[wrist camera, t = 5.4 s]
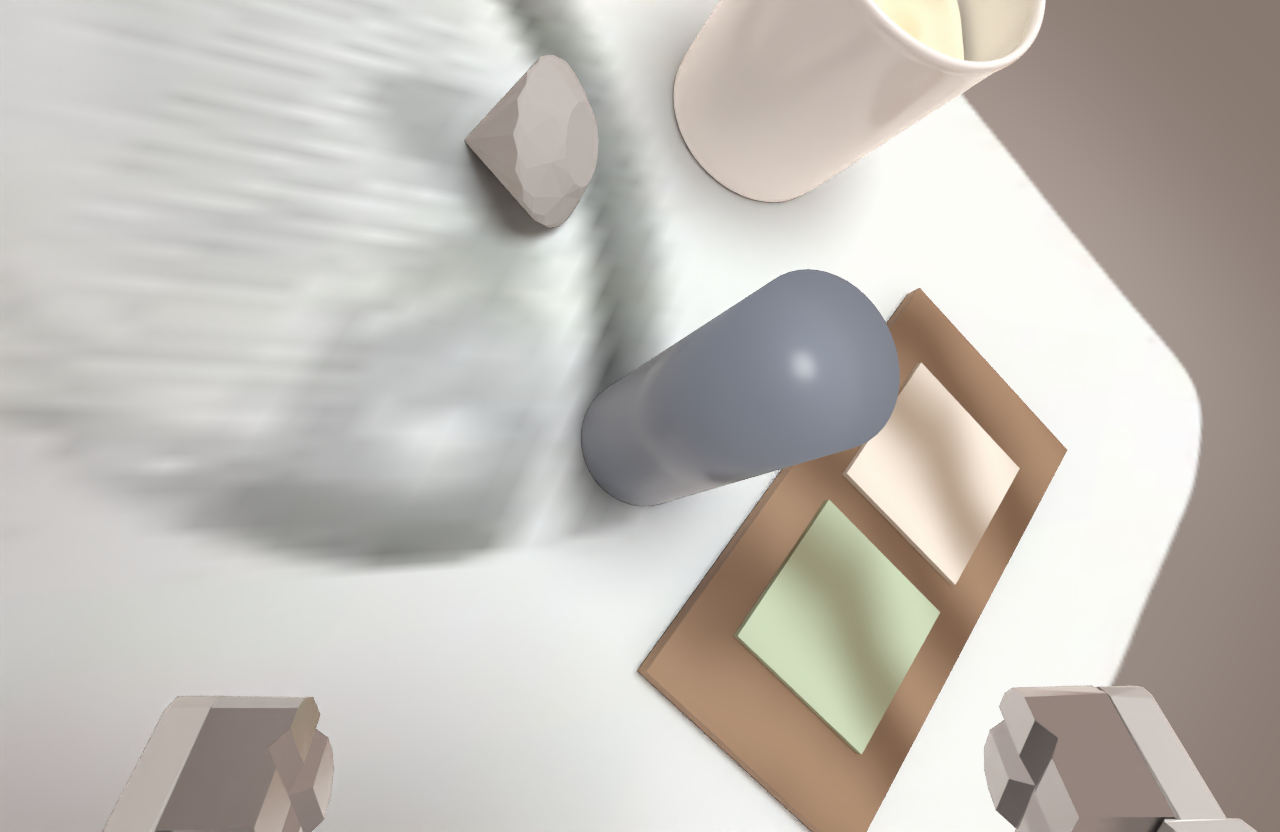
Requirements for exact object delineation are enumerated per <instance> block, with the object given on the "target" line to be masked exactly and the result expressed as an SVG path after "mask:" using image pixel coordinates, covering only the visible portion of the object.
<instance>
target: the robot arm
mask: <svg viewBox="0 0 1280 832" xmlns="http://www.w3.org/2000/svg"><path fill="white" fill-rule="evenodd" d="M999 708H1000V710H1001V713H1002V715H1003V718H1004V720H1003V721H1002V722H1001V723H999V724H998V725H996V726H995V727H993V728H992V729H990V731H989V734H988V737H987V740H986V743H985V746H984V771H985V776H986V780H987V785H988V789H989V792H990V795H991V798H992V801H993V803H994V806H995V809H996V811H997V812H999V813H1000V814H1001V815H1002V816H1003V817H1004V818H1005V819H1006V820H1007V821H1008V822H1010V823H1011V824H1012V825H1013V826H1014V827H1015V828H1016V830H1015V832H1257V831H1256V830H1254V829H1253V828H1252V827H1250V826H1249V825H1248V824H1246V823H1245V822H1244V821H1242V820H1241V819H1235V818H1226V816H1225V815H1224V813H1223V812H1222V810H1221V808H1220V807H1219V805H1218V803H1217V802H1216V800H1215V798H1214V797H1213V795H1212V793H1211V792H1210V790H1209V788H1208V787H1207V785H1206V783H1205V782H1204V780H1203V778H1202V777H1201V775H1200V774H1199V772H1198V770H1197V769H1196V767H1195V765H1194V764H1193V762H1192V760H1191V759H1190V757H1189V755H1188V754H1187V752H1186V750H1185V749H1184V747H1183V745H1182V744H1181V742H1180V740H1179V739H1178V737H1177V736H1176V734H1175V732H1174V731H1173V729H1172V727H1171V726H1170V724H1169V722H1168V721H1167V719H1166V717H1165V716H1164V714H1163V712H1162V711H1161V709H1160V707H1159V706H1158V704H1157V703H1156V701H1155V699H1154V698H1153V696H1152V695H1151V694H1150V693H1149V692H1147V690H1145V689H1144V688H1143V687H1140V686H1110V687H1094V686H1092V685H1091V686H1055V687H1018V688H1011V689H1010V690H1008V691H1007V692H1005V693H1004V696H1003V698H1002V701H1001V703H1000V705H999ZM319 717H320V712H319V710H318V708H317V705H316V703H315V700H314V698H313V697H241V696H178V697H177V698H176V699H175V700H174V701H173V702H172V703H171V704H170V705H169V706H168V707H167V708H166V709H165V710H164V712H163V714H162V716H161V718H160V720H159V722H158V723H157V725H156V727H155V729H154V731H153V733H152V735H151V737H150V739H149V741H148V743H147V745H146V747H145V749H144V751H143V753H142V755H141V757H140V759H139V761H138V763H137V765H136V767H135V769H134V771H133V773H132V774H131V776H130V778H129V780H128V782H127V784H126V786H125V788H124V790H123V792H122V794H121V796H120V798H119V800H118V802H117V804H116V806H115V808H114V810H113V812H112V814H111V816H110V818H109V820H108V822H107V823H106V825H105V827H104V829H103V831H102V832H312V831H313V830H314V829H315V828H316V827H317V826H318V825H319V824H320V823H321V822H322V821H323V820H324V818H325V814H326V810H327V807H328V803H329V799H330V796H331V789H332V780H333V771H334V765H333V754H332V748H331V745H330V742H329V739H328V737H326V736H325V735H323V734H322V733H321V732H319V731H318V730H316V726H317V723H318V720H319Z"/></svg>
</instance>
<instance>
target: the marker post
mask: <svg viewBox="0 0 1280 832" xmlns="http://www.w3.org/2000/svg"><path fill="white" fill-rule="evenodd" d="M899 383H900V370H899V361H898V354H897V351H896V347H895V343H894V340H893V338H892V335H891V332H890V330H889V328H888V326H887V324H886V322H885V320H884V319H883V317H882V316H881V314H880V312H879V311H878V310H877V308H876V307H875V306H874V304H873V303H872V302H871V301H870V300H869V299H868V298H867V297H866V296H865V295H864V294H863V293H862V292H861V291H860V290H859V289H857V288H856V287H855V286H853V285H852V284H851V283H849V282H848V281H846V280H844V279H842V278H840V277H838V276H836V275H833V274H831V273H828V272H824V271H819V270H809V269H807V270H796V271H792V272H788V273H786V274H783V275H781V276H779V277H777V278H776V279H774V280H773V281H771V282H769V283H768V284H766V285H765V286H763V287H762V288H760V289H759V290H757V291H756V292H754V293H752V294H751V295H749V296H748V297H746V298H745V299H743V300H742V301H740V302H739V303H737V304H736V305H734V306H732V307H731V308H729V309H728V310H726V311H725V312H723V313H722V314H720V315H719V316H717V317H716V318H714V319H713V320H711V321H709V322H708V323H706V324H705V325H703V326H702V327H700V328H699V329H697V330H696V331H694V332H693V333H691V334H689V335H688V336H686V337H685V338H683V339H682V340H680V341H679V342H677V343H676V344H674V345H673V346H671V347H669V348H668V349H666V350H665V351H663V352H662V353H660V354H659V355H657V356H656V357H654V358H653V359H651V360H649V361H648V362H646V363H645V364H643V365H642V366H640V367H639V368H637V369H636V370H634V371H633V372H631V373H629V374H628V375H626V376H625V377H623V378H622V379H620V380H619V381H617V382H616V383H614V384H613V385H611V386H609V387H608V388H606V389H605V390H604V391H602V392H601V393H600V394H599V395H598V396H597V397H596V398H595V399H594V400H593V402H592V403H591V405H590V406H589V408H588V410H587V412H586V414H585V418H584V421H583V425H582V432H581V443H582V451H583V456H584V459H585V462H586V464H587V467H588V469H589V471H590V473H591V474H592V476H593V477H594V479H595V480H596V481H597V483H598V484H599V485H600V486H601V487H602V488H603V489H604V490H605V491H606V492H607V493H609V494H610V495H611V496H613V497H615V498H616V499H618V500H620V501H623V502H625V503H628V504H632V505H636V506H653V505H658V504H662V503H665V502H668V501H672V500H675V499H679V498H682V497H686V496H689V495H693V494H696V493H700V492H703V491H706V490H710V489H713V488H717V487H720V486H724V485H727V484H731V483H734V482H738V481H741V480H745V479H748V478H751V477H755V476H758V475H762V474H765V473H769V472H772V471H776V470H779V469H783V468H786V467H789V466H793V465H796V464H800V463H803V462H807V461H810V460H814V459H817V458H821V457H824V456H828V455H831V454H834V453H838V452H841V451H845V450H848V449H852V448H855V447H857V446H860V445H862V444H864V443H866V442H868V441H869V440H871V439H872V438H873V437H875V436H876V435H877V434H878V433H879V432H880V431H881V430H882V429H883V428H884V426H885V425H886V423H887V422H888V420H889V419H890V417H891V414H892V412H893V410H894V408H895V404H896V401H897V397H898V392H899Z"/></svg>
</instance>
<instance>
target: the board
mask: <svg viewBox="0 0 1280 832" xmlns="http://www.w3.org/2000/svg"><path fill="white" fill-rule="evenodd" d="M887 326H888V328H889V330H890V332H891V335H892V338H893V340H894V343H895V347H896V351H897V354H898V361H899V370H900V383H899V392H898V397H897V401H896V404H895V408H894V410H893V412H892V414H891V417H890V419H889V420H888V422H887V423H886V425H885V426H884V428H883V429H882V430H881V431H880V432H879V433H878V434H877V435H876V436H875V437H873V438H872V439H871V440H869V441H868V442H866V443H864V444H862V445H860V446H857V447H855V448H852V449H848V450H845V451H841V452H838V453H834V454H831V455H828V456H824V457H821V458H817V459H814V460H810V461H807V462H803V463H800V464H796V465H793V466H789V467H786V468H783V469H782V470H781V471H780V473H779V474H778V475H777V477H776V478H775V480H774V481H773V482H772V484H771V485H770V487H769V488H768V489H767V491H766V492H765V494H764V495H763V496H762V498H761V499H760V501H759V502H758V503H757V505H756V506H755V507H754V509H753V510H752V512H751V513H750V514H749V516H748V517H747V519H746V520H745V521H744V523H743V524H742V526H741V527H740V528H739V530H738V531H737V533H736V534H735V535H734V537H733V538H732V539H731V541H730V542H729V544H728V545H727V546H726V548H725V549H724V551H723V552H722V553H721V555H720V556H719V558H718V559H717V560H716V562H715V563H714V565H713V566H712V567H711V569H710V570H709V572H708V573H707V574H706V576H705V577H704V578H703V580H702V581H701V583H700V584H699V585H698V587H697V588H696V590H695V591H694V592H693V594H692V595H691V597H690V598H689V599H688V601H687V602H686V604H685V605H684V606H683V608H682V609H681V610H680V612H679V613H678V615H677V616H676V617H675V619H674V620H673V622H672V623H671V624H670V626H669V627H668V629H667V630H666V631H665V633H664V634H663V636H662V637H661V638H660V640H659V641H658V642H657V644H656V645H655V647H654V648H653V649H652V651H651V652H650V654H649V655H648V656H647V658H646V659H645V661H644V662H643V663H642V665H641V666H640V668H639V669H638V670H637V671H638V672H639V673H640V674H642V675H643V676H644V677H645V678H646V679H647V680H648V681H649V682H650V683H651V684H652V685H653V686H655V687H656V688H657V689H658V690H659V691H660V692H661V693H662V694H663V695H664V696H665V697H666V698H668V699H669V700H670V701H671V702H672V703H673V704H674V705H675V706H676V707H677V708H678V709H679V710H681V711H682V712H683V713H684V714H685V715H686V716H687V717H688V718H689V719H690V720H691V721H692V722H694V723H695V724H696V725H697V726H698V727H699V728H700V729H701V730H702V731H703V732H704V733H706V734H707V735H708V736H709V737H710V738H711V739H712V740H713V741H714V742H715V743H716V744H717V745H719V746H720V747H721V748H722V749H723V750H724V751H725V752H726V753H727V754H728V755H729V756H730V757H732V758H733V759H734V760H735V761H736V762H737V763H738V764H739V765H740V766H741V767H742V768H743V769H745V770H746V771H747V772H748V773H749V774H750V775H751V776H752V777H753V778H754V779H755V780H756V781H758V782H759V783H760V784H761V785H762V786H763V787H764V788H765V789H766V790H767V791H768V792H769V793H771V794H772V795H773V796H774V797H775V798H776V799H777V800H778V801H779V802H780V803H781V804H782V805H784V806H785V807H786V808H787V809H788V810H789V811H790V812H791V813H792V814H793V815H794V816H796V817H797V818H798V819H799V820H800V821H801V822H802V823H803V824H804V825H805V826H806V827H807V828H809V829H810V830H811V831H812V832H867V830H868V828H869V826H870V824H871V822H872V820H873V818H874V816H875V815H876V813H877V811H878V809H879V807H880V805H881V803H882V801H883V799H884V797H885V796H886V794H887V792H888V790H889V788H890V786H891V784H892V782H893V780H894V778H895V777H896V775H897V773H898V771H899V769H900V767H901V765H902V763H903V761H904V759H905V758H906V756H907V754H908V752H909V750H910V748H911V746H912V744H913V742H914V740H915V739H916V737H917V735H918V733H919V731H920V729H921V727H922V725H923V723H924V721H925V720H926V718H927V716H928V714H929V712H930V710H931V708H932V706H933V704H934V702H935V701H936V699H937V697H938V695H939V693H940V691H941V689H942V687H943V685H944V683H945V681H946V680H947V678H948V676H949V674H950V672H951V670H952V668H953V666H954V664H955V662H956V661H957V659H958V657H959V655H960V653H961V651H962V649H963V647H964V645H965V643H966V642H967V640H968V638H969V636H970V634H971V632H972V630H973V628H974V626H975V624H976V623H977V621H978V619H979V617H980V615H981V613H982V611H983V609H984V607H985V605H986V604H987V602H988V600H989V598H990V596H991V594H992V592H993V590H994V588H995V586H996V585H997V583H998V581H999V579H1000V577H1001V575H1002V573H1003V571H1004V569H1005V567H1006V566H1007V564H1008V562H1009V560H1010V558H1011V556H1012V554H1013V552H1014V550H1015V548H1016V547H1017V545H1018V543H1019V541H1020V539H1021V537H1022V535H1023V533H1024V531H1025V529H1026V527H1027V526H1028V524H1029V522H1030V520H1031V518H1032V516H1033V514H1034V512H1035V510H1036V508H1037V507H1038V505H1039V503H1040V501H1041V499H1042V497H1043V495H1044V493H1045V491H1046V489H1047V488H1048V486H1049V484H1050V482H1051V480H1052V478H1053V476H1054V474H1055V472H1056V470H1057V469H1058V467H1059V465H1060V463H1061V461H1062V459H1063V457H1064V455H1065V453H1066V451H1067V449H1066V448H1065V447H1064V446H1063V445H1062V444H1061V443H1060V441H1059V440H1058V439H1057V438H1056V437H1055V436H1054V435H1053V434H1052V433H1051V432H1050V430H1049V429H1048V428H1047V427H1046V426H1045V425H1044V424H1043V423H1042V422H1041V421H1040V420H1039V418H1038V417H1037V416H1036V415H1035V414H1034V413H1033V412H1032V411H1031V410H1030V409H1029V407H1028V406H1027V405H1026V404H1025V403H1024V402H1023V401H1022V400H1021V399H1020V398H1019V396H1018V395H1017V394H1016V393H1015V392H1014V391H1013V390H1012V389H1011V388H1010V387H1009V385H1008V384H1007V383H1006V382H1005V381H1004V380H1003V379H1002V378H1001V377H1000V376H999V375H998V373H997V372H996V371H995V370H994V369H993V368H992V367H991V366H990V365H989V364H988V362H987V361H986V360H985V359H984V358H983V357H982V356H981V355H980V354H979V353H978V351H977V350H976V349H975V348H974V347H973V346H972V345H971V344H970V343H969V342H968V340H967V339H966V338H965V337H964V336H963V335H962V334H961V333H960V332H959V331H958V330H957V328H956V327H955V326H954V325H953V324H952V323H951V322H950V321H949V320H948V319H947V317H946V316H945V315H944V314H943V313H942V312H941V311H940V310H939V309H938V308H937V306H936V305H935V304H934V303H933V302H932V301H931V300H930V299H929V298H928V297H927V296H926V294H925V293H924V292H923V291H922V290H921V289H920V288H919V289H917V290H915V291H913V292H911V293H909V294H908V295H907V296H906V297H905V299H904V300H903V301H902V303H901V304H900V306H899V307H898V308H897V310H896V311H895V313H894V314H893V315H892V317H891V318H890V320H889V321H888V322H887Z"/></svg>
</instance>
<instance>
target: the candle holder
mask: <svg viewBox="0 0 1280 832" xmlns="http://www.w3.org/2000/svg"><path fill="white" fill-rule="evenodd" d="M1045 1H1046V0H720V1H719V3H718V4H717V6H716V7H715V9H714V10H713V12H712V13H711V15H710V16H709V18H708V20H707V21H706V23H705V24H704V26H703V27H702V29H701V30H700V32H699V34H698V35H697V37H696V38H695V40H694V41H693V43H692V45H691V46H690V48H689V50H688V51H687V53H686V55H685V56H684V58H683V60H682V62H681V64H680V66H679V69H678V72H677V75H676V79H675V84H674V109H675V114H676V119H677V122H678V126H679V129H680V131H681V134H682V136H683V138H684V140H685V142H686V144H687V146H688V148H689V149H690V151H691V153H692V154H693V156H694V157H695V158H696V160H697V161H698V162H699V163H700V165H701V166H702V167H703V168H704V169H705V170H706V171H707V172H708V173H709V174H710V175H711V176H712V177H713V178H714V179H716V180H717V181H718V182H719V183H721V184H722V185H724V186H725V187H727V188H728V189H730V190H732V191H733V192H735V193H737V194H740V195H742V196H744V197H747V198H750V199H754V200H758V201H764V202H781V201H787V200H791V199H794V198H797V197H799V196H801V195H804V194H805V193H807V192H809V191H811V190H813V189H814V188H816V187H818V186H819V185H821V184H822V183H824V182H826V181H827V180H829V179H830V178H832V177H833V176H835V175H837V174H838V173H840V172H841V171H843V170H844V169H846V168H848V167H849V166H851V165H852V164H854V163H855V162H857V161H858V160H860V159H861V158H863V157H865V156H866V155H868V154H869V153H871V152H872V151H874V150H875V149H877V148H878V147H880V146H881V145H883V144H885V143H886V142H888V141H889V140H891V139H892V138H894V137H895V136H897V135H898V134H900V133H901V132H903V131H905V130H906V129H908V128H909V127H911V126H912V125H914V124H915V123H917V122H918V121H920V120H921V119H923V118H925V117H926V116H928V115H929V114H931V113H932V112H934V111H935V110H937V109H938V108H940V107H941V106H943V105H945V104H946V103H948V102H949V101H951V100H952V99H954V98H955V97H957V96H958V95H960V94H962V93H963V92H965V91H966V90H968V89H969V88H971V87H972V86H974V85H975V84H977V83H978V82H980V81H982V80H983V79H985V78H986V77H988V76H989V75H991V74H993V73H994V72H996V71H999V70H1001V69H1003V68H1005V67H1007V66H1008V65H1010V64H1012V63H1013V62H1015V61H1016V60H1017V59H1018V58H1020V57H1021V56H1022V55H1023V54H1024V53H1025V52H1026V51H1027V50H1028V49H1029V47H1030V46H1031V45H1032V43H1033V42H1034V40H1035V38H1036V36H1037V34H1038V32H1039V30H1040V27H1041V24H1042V20H1043V16H1044V11H1045Z"/></svg>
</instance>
